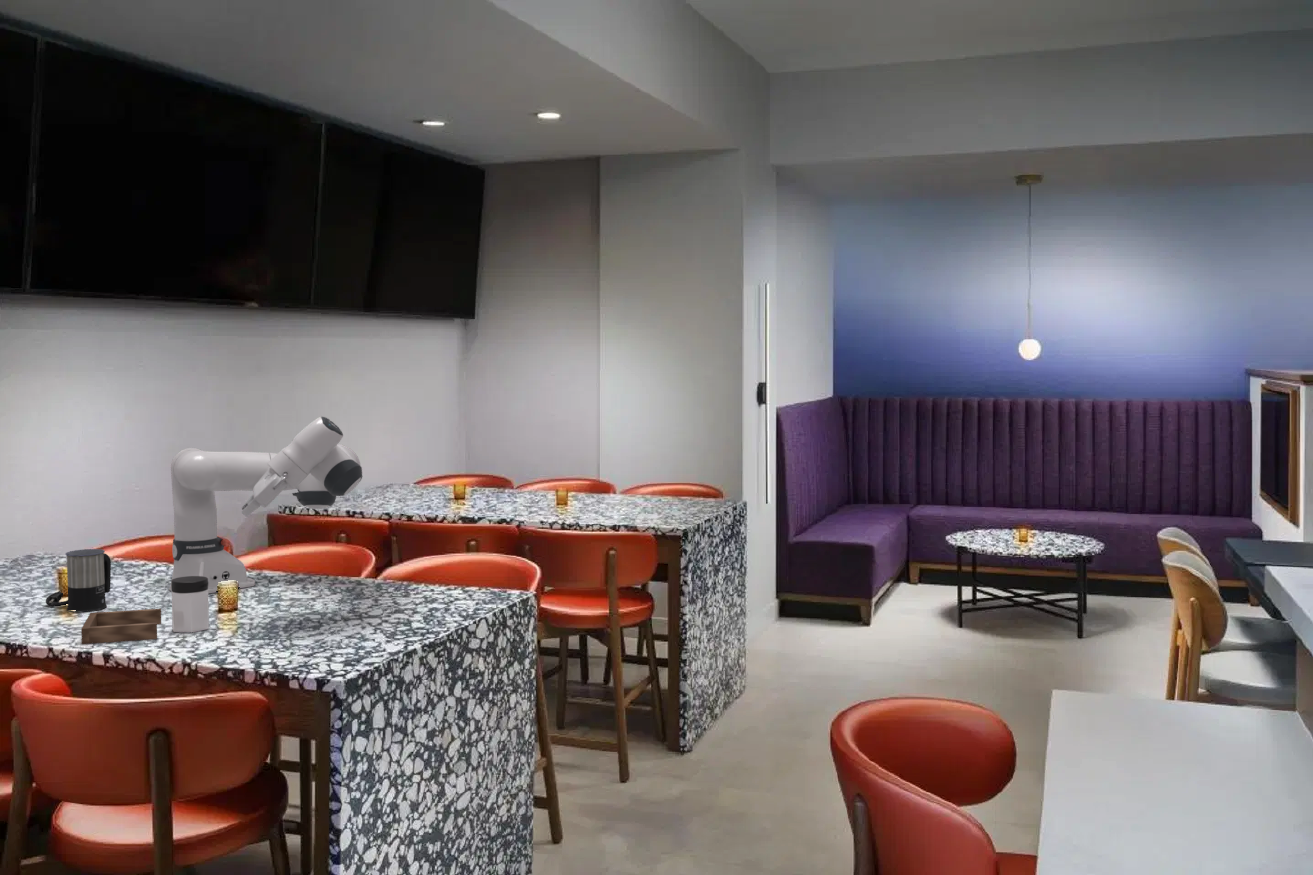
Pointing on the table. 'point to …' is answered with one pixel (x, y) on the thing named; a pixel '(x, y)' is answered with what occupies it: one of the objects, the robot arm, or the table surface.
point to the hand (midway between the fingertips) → (243, 512)
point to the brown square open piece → (121, 626)
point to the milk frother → (85, 581)
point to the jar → (190, 604)
